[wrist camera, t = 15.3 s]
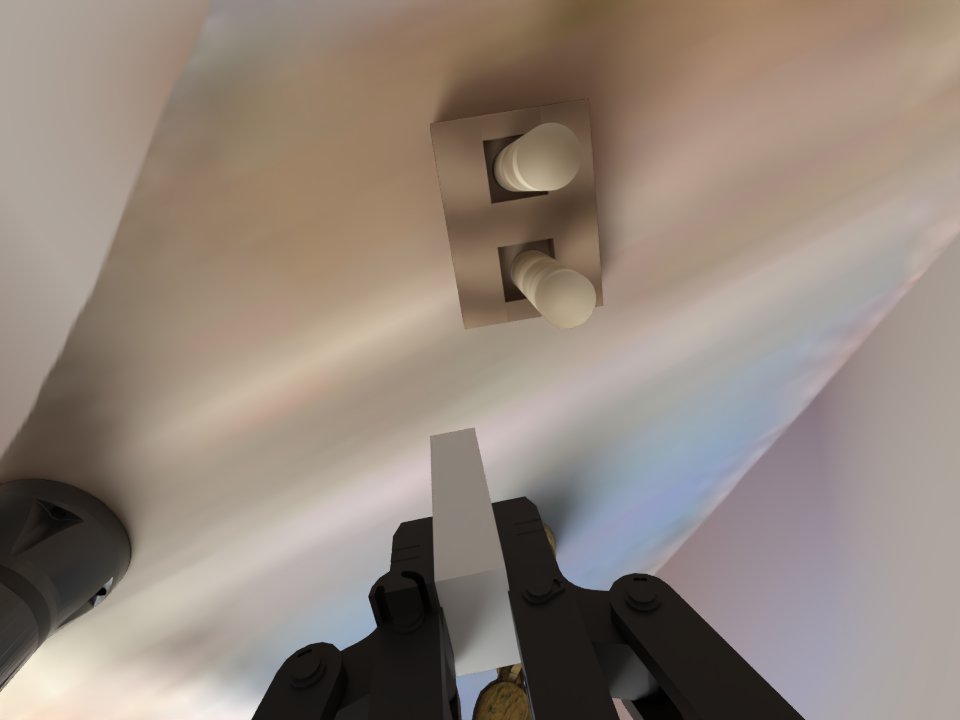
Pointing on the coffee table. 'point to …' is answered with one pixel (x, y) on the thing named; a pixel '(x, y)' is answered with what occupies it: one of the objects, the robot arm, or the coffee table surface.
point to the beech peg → (553, 288)
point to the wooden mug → (506, 688)
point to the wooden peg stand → (516, 202)
